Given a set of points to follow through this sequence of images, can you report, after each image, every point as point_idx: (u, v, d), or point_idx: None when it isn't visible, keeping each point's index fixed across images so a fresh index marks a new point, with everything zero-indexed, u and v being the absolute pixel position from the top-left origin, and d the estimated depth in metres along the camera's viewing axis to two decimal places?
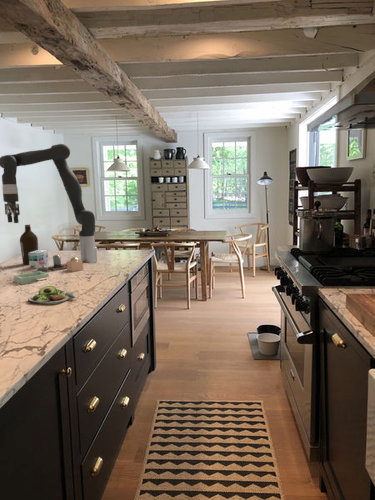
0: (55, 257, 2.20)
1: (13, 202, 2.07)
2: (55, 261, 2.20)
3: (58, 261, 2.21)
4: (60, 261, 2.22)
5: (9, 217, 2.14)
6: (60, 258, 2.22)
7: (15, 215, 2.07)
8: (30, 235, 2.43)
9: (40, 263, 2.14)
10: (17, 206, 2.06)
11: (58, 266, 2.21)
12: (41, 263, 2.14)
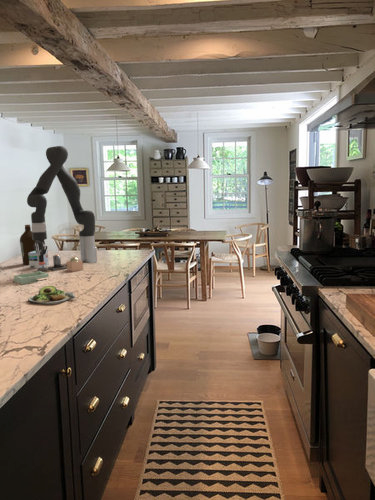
0: (55, 257, 2.20)
1: (42, 240, 2.11)
2: (55, 261, 2.20)
3: (58, 261, 2.21)
4: (60, 261, 2.22)
5: None
6: (60, 258, 2.22)
7: (41, 254, 2.13)
8: (30, 235, 2.43)
9: (40, 263, 2.14)
10: (45, 248, 2.11)
11: (58, 266, 2.21)
12: (41, 263, 2.14)
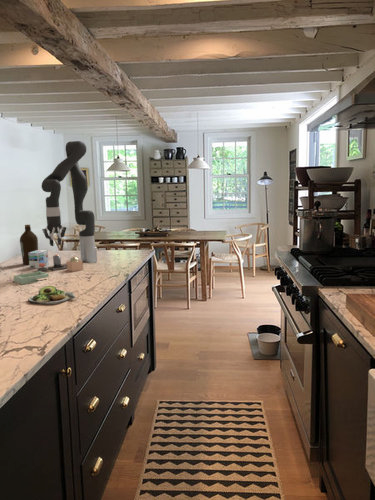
0: (55, 257, 2.20)
1: (47, 224, 2.16)
2: (55, 261, 2.20)
3: (58, 261, 2.21)
4: (60, 261, 2.22)
5: (58, 240, 2.22)
6: (60, 258, 2.22)
7: (48, 238, 2.18)
8: (30, 235, 2.43)
9: (40, 265, 2.14)
10: (44, 231, 2.15)
11: (58, 266, 2.21)
12: (41, 265, 2.14)
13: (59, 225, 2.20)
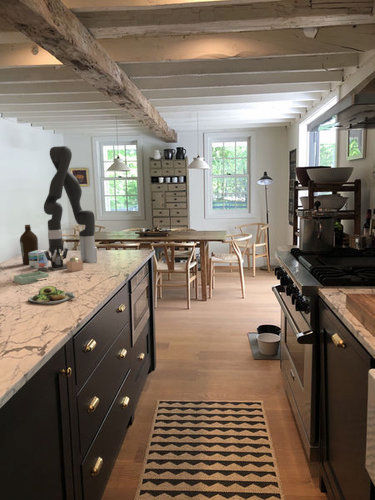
0: (55, 257, 2.20)
1: (49, 247, 2.18)
2: (55, 261, 2.20)
3: (58, 261, 2.21)
4: (60, 261, 2.22)
5: None
6: (60, 258, 2.22)
7: (49, 260, 2.20)
8: (30, 235, 2.43)
9: (40, 265, 2.14)
10: (46, 253, 2.16)
11: (58, 266, 2.21)
12: (41, 265, 2.14)
13: (61, 247, 2.22)
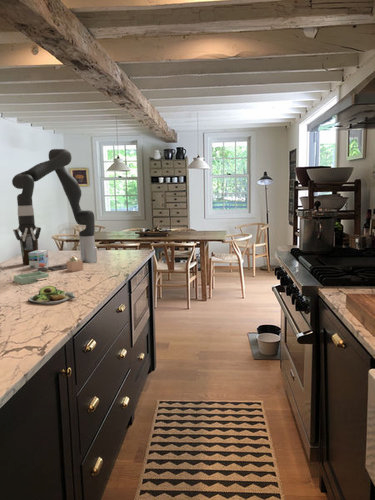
0: (26, 236, 1.96)
1: (19, 225, 1.94)
2: (26, 241, 1.96)
3: (29, 241, 1.97)
4: (32, 241, 1.98)
5: None
6: None
7: (19, 240, 1.96)
8: None
9: (40, 265, 2.14)
10: (15, 232, 1.93)
11: (29, 247, 1.97)
12: (41, 265, 2.14)
13: (32, 225, 1.98)
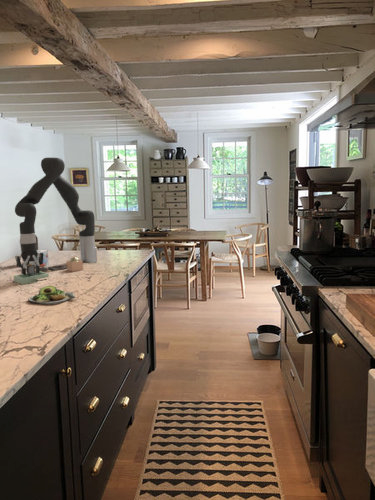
0: (28, 267, 1.98)
1: (21, 252, 1.96)
2: (28, 271, 1.99)
3: (32, 271, 1.99)
4: (34, 271, 2.00)
5: (36, 267, 2.03)
6: (34, 268, 2.01)
7: (20, 267, 1.97)
8: None
9: (40, 265, 2.14)
10: (16, 259, 1.94)
11: None
12: (41, 265, 2.14)
13: (35, 253, 2.00)
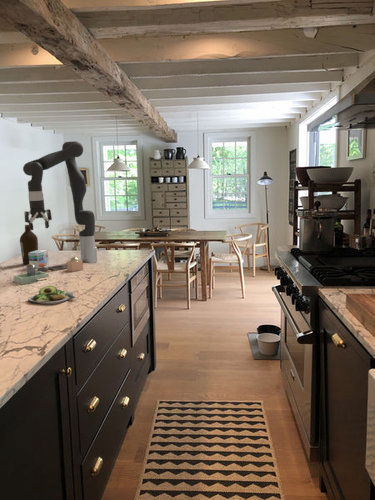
0: (28, 266, 1.98)
1: (30, 209, 2.09)
2: (28, 271, 1.99)
3: (32, 271, 1.99)
4: (34, 271, 2.00)
5: (45, 223, 2.16)
6: (34, 268, 2.01)
7: (27, 222, 2.09)
8: (30, 235, 2.43)
9: (40, 265, 2.14)
10: (25, 214, 2.07)
11: None
12: (41, 265, 2.14)
13: (42, 210, 2.13)
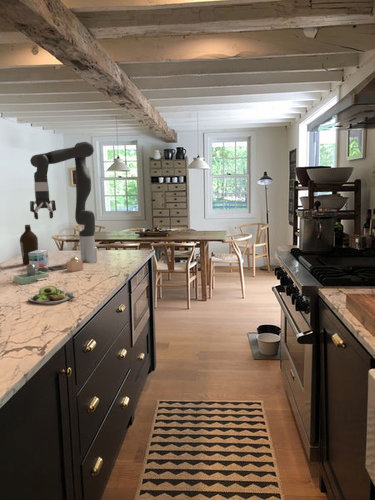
0: (29, 266, 1.98)
1: None
2: (29, 271, 1.99)
3: (32, 271, 1.99)
4: (34, 271, 2.01)
5: (49, 213, 2.25)
6: (34, 267, 2.01)
7: None
8: (30, 235, 2.43)
9: (40, 265, 2.14)
10: (31, 203, 2.16)
11: None
12: (41, 265, 2.14)
13: (47, 201, 2.22)
